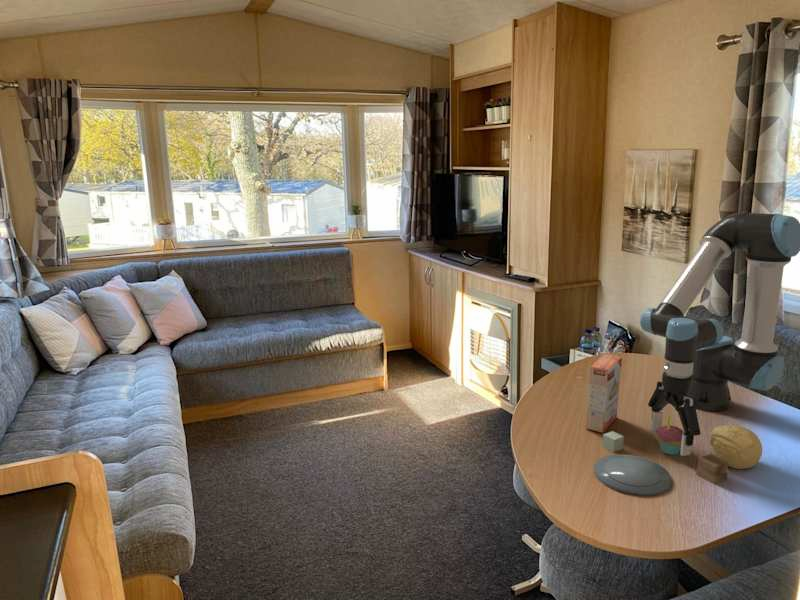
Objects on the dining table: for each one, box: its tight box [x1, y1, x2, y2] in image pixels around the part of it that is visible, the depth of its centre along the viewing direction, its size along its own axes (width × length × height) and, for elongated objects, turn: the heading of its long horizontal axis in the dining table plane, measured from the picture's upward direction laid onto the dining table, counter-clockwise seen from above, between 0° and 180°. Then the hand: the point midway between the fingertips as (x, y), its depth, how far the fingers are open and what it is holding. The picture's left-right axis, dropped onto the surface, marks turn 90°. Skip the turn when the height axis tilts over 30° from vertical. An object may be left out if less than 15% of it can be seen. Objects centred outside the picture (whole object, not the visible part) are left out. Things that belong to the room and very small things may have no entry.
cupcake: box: [654, 414, 685, 456], centre depth 170 cm, size 9×8×12 cm
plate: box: [593, 453, 672, 497], centre depth 159 cm, size 19×19×1 cm
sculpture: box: [709, 423, 763, 470], centre depth 163 cm, size 12×12×11 cm
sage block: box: [601, 431, 625, 453], centre depth 173 cm, size 4×4×4 cm
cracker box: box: [585, 353, 623, 434], centre depth 186 cm, size 14×6×21 cm, turn 144°
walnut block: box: [696, 453, 729, 484], centre depth 157 cm, size 5×5×5 cm
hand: (670, 443), depth 171 cm, fingers open, 13 cm apart
